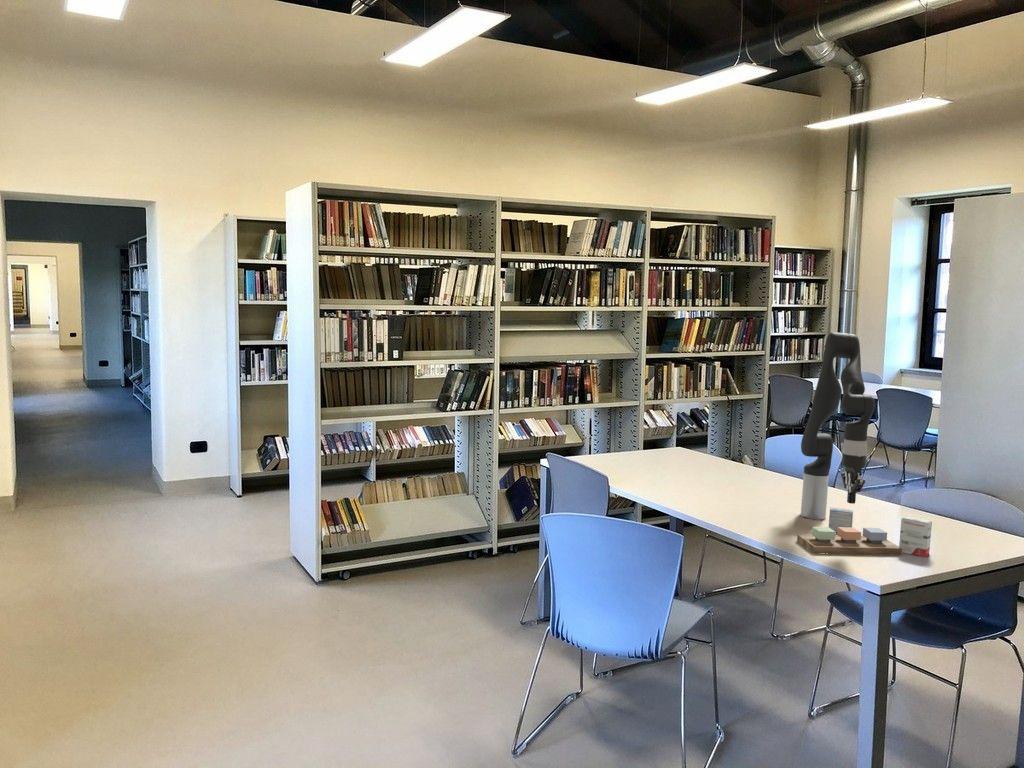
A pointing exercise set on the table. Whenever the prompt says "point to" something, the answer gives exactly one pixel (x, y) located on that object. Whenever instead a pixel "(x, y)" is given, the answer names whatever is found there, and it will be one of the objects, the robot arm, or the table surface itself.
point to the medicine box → (840, 518)
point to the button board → (849, 546)
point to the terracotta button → (849, 533)
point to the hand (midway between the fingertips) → (851, 503)
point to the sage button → (823, 533)
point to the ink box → (915, 536)
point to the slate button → (875, 534)
